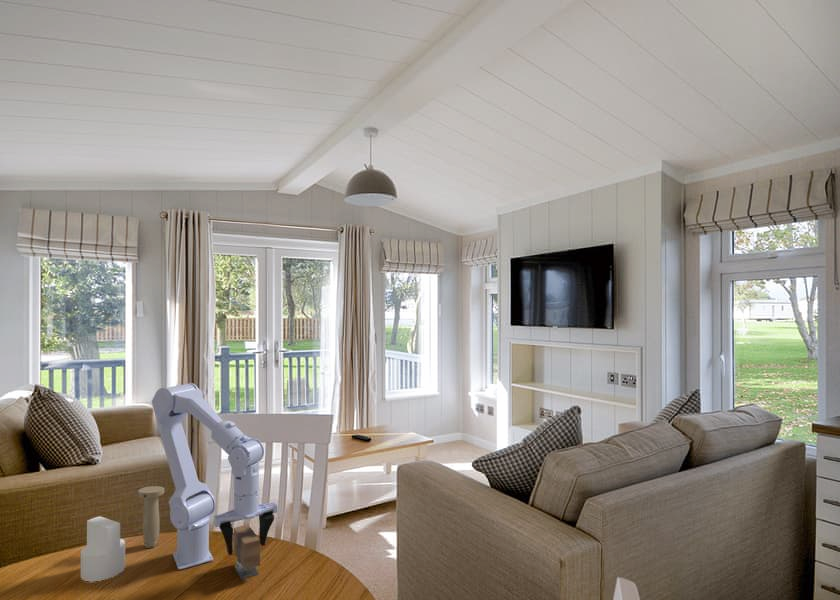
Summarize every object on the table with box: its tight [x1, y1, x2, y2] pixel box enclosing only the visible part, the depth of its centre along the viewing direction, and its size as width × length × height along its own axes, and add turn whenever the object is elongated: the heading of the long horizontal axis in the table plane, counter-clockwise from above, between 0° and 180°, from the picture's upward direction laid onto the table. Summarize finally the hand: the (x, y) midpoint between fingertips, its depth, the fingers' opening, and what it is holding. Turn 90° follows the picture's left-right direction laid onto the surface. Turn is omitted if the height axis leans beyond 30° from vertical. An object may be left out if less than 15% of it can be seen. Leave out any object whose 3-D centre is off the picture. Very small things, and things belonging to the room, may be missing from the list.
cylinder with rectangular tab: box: [80, 516, 126, 583], centre depth 119 cm, size 9×9×12 cm
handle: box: [137, 485, 165, 549], centre depth 132 cm, size 5×6×15 cm
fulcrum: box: [234, 558, 259, 580], centre depth 119 cm, size 6×4×3 cm, turn 34°
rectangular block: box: [233, 524, 261, 570], centre depth 119 cm, size 10×4×6 cm, turn 34°
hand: (246, 548), depth 119 cm, fingers open, 7 cm apart
